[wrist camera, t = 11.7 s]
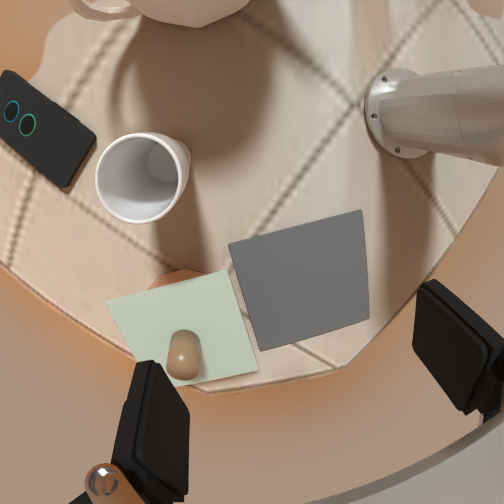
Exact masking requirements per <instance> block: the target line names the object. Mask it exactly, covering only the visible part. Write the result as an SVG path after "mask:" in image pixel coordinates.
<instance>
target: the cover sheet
mask: <svg viewBox="0 0 504 504" xmlns="http://www.w3.org/2000/svg"><path fill="white" fill-rule="evenodd" d="M105 304H106V306H107V308H108V310H109V312H110V314H111V316H112V318H113V320H114V322H115V323H116V325H117V327H118V329H119V331H120V333H121V334H122V336H123V338H124V340H125V341H126V343H127V345H128V347H129V348H130V350H131V352H132V353H133V355H134V357H135V358H136V360H137V362H140V361H146V360H154V361H155V362H156V363H160V364H161V366H162V367H163V369H164V371H165V372H166V374H167V376H168V377H169V379H170V381H171V382H172V384H173V386H174V387H178V386H184V385H190V384H196V383H201V382H206V381H211V380H216V379H221V378H226V377H230V376H235V375H239V374H244V373H248V372H252V371H256V370H259V365H258V362H257V359H256V356H255V353H254V350H253V347H252V344H251V341H250V338H249V335H248V332H247V329H246V326H245V323H244V320H243V317H242V313H241V310H240V307H239V304H238V301H237V298H236V295H235V291H234V288H233V285H232V282H231V279H230V275H229V272H228V269H226V270H223V271H219V272H215V273H211V274H207V275H204V276H200V277H196V278H192V279H188V280H184V281H181V282H177V283H173V284H169V285H165V286H161V287H157V288H154V289H150V290H146V291H142V292H138V293H134V294H130V295H126V296H122V297H118V298H114V299H110V300H107V302H106V303H105Z"/></svg>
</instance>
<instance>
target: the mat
mask: <svg viewBox="0 0 504 504" xmlns="http://www.w3.org/2000/svg"><path fill="white" fill-rule="evenodd" d="M228 246H229V249H230V253H231V256H232V260H233V263H234V266H235V270H236V273H237V276H238V280H239V283H240V286H241V290H242V293H243V296H244V300H245V303H246V306H247V310H248V313H249V316H250V320H251V323H252V326H253V329H254V333H255V336H256V339H257V342H258V345H259V349H260V351H264V350H267V349H271V348H275V347H279V346H282V345H286V344H290V343H293V342H297V341H300V340H304V339H307V338H310V337H314V336H317V335H320V334H324V333H327V332H330V331H333V330H336V329H339V328H342V327H345V326H348V325H351V324H354V323H357V322H360V321H363V320H366V319H369V291H368V272H367V257H366V245H365V234H364V224H363V215H362V210H357V211H353V212H349V213H345V214H341V215H337V216H333V217H329V218H326V219H322V220H318V221H314V222H310V223H306V224H302V225H298V226H295V227H291V228H287V229H283V230H279V231H276V232H272V233H268V234H264V235H260V236H257V237H253V238H249V239H245V240H242V241H238V242H234V243H230V244H228Z"/></svg>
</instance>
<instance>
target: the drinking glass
mask: <svg viewBox="0 0 504 504" xmlns="http://www.w3.org/2000/svg"><path fill="white" fill-rule="evenodd" d="M190 166H191V155H190V152H189V150H188V148H187V147H186V146H185V145H184V144H183V143H182V142H180V141H179V140H176V139H172V138H171V137H168V136H166V135H164V134H160V133H155V132H139V133H134V134H129V135H126V136H123V137H121V138H119V139H117V140H115V141H114V142H113V143H111V144H110V145H109V146H108V147H107V148H106V150H105V151H104V152H103V154H102V155H101V157H100V159H99V161H98V164H97V167H96V172H95V186H96V191H97V195H98V197H99V199H100V201H101V203H102V205H103V206H104V208H105V209H106V210H107V211H108V212H109V213H110V214H111V215H112V216H114V217H115V218H117V219H119V220H121V221H123V222H126V223H129V224H147V223H151V222H154V221H156V220H158V219H160V218H162V217H163V216H165V215H166V214H167V213H168V212H169V211H170V210H171V209H172V208H173V206H174V205H175V204H176V203H177V201H178V200H179V199H180V197H181V195H182V194H183V192H184V190H185V187H186V185H187V181H188V176H189V169H190Z"/></svg>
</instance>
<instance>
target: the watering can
mask: <svg viewBox="0 0 504 504" xmlns="http://www.w3.org/2000/svg"><path fill="white" fill-rule="evenodd" d="M127 1H128V2H129V3H130V4H132V5H129V6H122V7H110V8H105V7H102V6H98V5H94V4H90V3H88V2H86V1H85V0H69V2H70V3H71V5H72V7H73V9H74V11H75V12H76V13H77V14H79V15H81V16H82V17H84V18H86V19H92V20H99V21H110V20H117V19H124V18H132V17H135V16H139V15H142V14H144V15H145V16H147V17H149V18H152V19H154V20H157V21H160V22H165V23H170V24H176V25H182V26H188V27H194V28H200V27H203V26H206V25H208V24H210V23H213V22H215V21H217V20H219V19H222V18H224V17H226V16H229V15H231V14H233V13H235V12H237V11H239V10H240V9H241V8H243V7H244V6H245V5H247V3H248V2H249V1H250V0H127Z"/></svg>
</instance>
